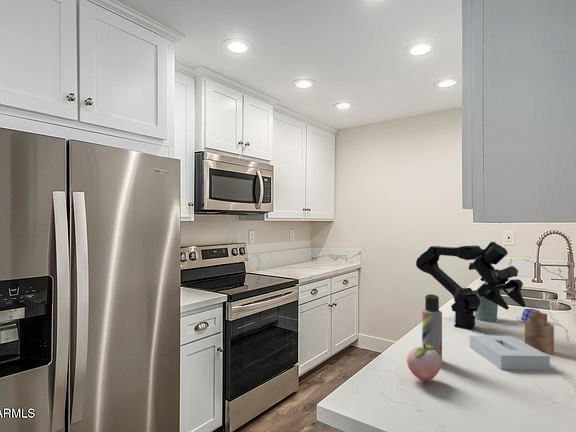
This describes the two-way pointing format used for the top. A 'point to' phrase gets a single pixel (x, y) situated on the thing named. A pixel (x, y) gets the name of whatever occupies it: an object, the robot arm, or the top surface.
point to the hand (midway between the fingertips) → (516, 307)
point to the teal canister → (486, 310)
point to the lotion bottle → (432, 324)
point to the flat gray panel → (509, 353)
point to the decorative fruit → (424, 362)
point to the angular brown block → (539, 333)
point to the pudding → (527, 315)
